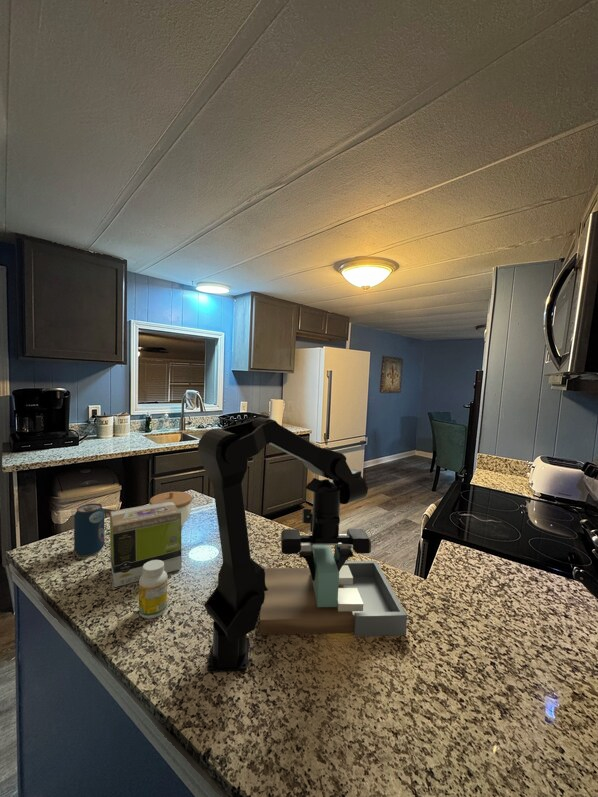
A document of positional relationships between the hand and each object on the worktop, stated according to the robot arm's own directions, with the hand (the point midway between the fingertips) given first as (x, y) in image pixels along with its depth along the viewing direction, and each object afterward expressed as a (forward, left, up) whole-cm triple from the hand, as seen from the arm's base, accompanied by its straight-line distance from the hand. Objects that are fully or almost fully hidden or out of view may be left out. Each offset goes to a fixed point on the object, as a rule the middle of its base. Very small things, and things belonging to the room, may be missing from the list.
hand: (323, 579), depth 72 cm
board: (0, +4, -5) cm, 7 cm away
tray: (0, -10, -5) cm, 11 cm away
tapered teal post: (0, 0, -2) cm, 2 cm away
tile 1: (+4, -5, -2) cm, 7 cm away
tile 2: (-4, -5, -2) cm, 7 cm away
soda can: (+23, +60, -6) cm, 65 cm away
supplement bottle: (-1, +35, -6) cm, 36 cm away
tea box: (+14, +42, -6) cm, 45 cm away
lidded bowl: (+38, +43, -6) cm, 58 cm away
